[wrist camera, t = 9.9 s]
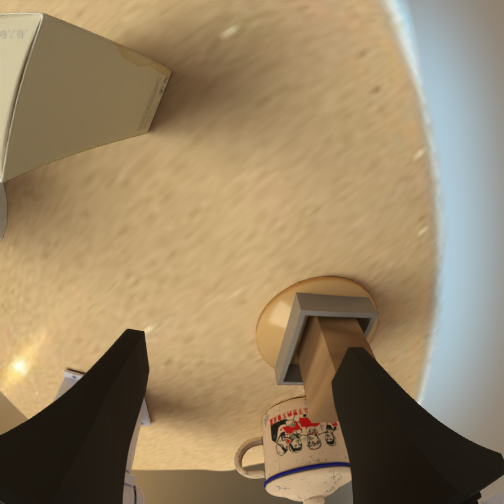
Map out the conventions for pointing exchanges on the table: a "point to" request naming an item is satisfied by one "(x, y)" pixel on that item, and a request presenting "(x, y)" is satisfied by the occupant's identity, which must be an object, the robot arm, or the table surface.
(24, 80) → the skincare box
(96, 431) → the robot arm
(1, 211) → the french press
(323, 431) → the teacup with lid
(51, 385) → the table surface
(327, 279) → the grey open box
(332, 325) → the brown wooden block
